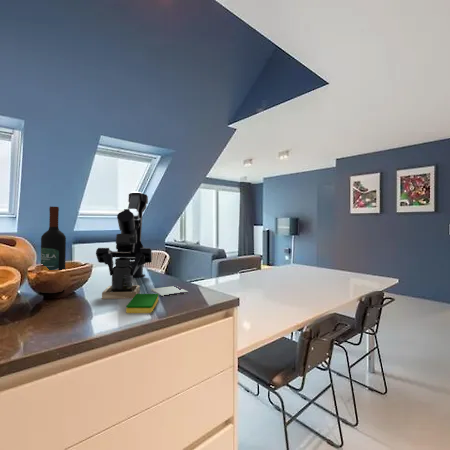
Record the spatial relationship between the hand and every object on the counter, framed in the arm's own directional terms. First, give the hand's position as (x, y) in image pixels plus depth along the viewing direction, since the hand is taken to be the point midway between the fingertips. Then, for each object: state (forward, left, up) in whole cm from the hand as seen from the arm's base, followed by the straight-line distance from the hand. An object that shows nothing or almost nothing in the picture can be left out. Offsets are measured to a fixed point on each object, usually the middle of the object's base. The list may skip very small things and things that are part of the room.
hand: (121, 274), depth 98 cm
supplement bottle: (-1, -1, -7) cm, 7 cm away
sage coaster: (-12, +11, -7) cm, 18 cm away
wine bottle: (+7, -25, -7) cm, 27 cm away
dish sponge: (+6, +14, -8) cm, 17 cm away
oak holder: (-1, -1, -7) cm, 7 cm away
